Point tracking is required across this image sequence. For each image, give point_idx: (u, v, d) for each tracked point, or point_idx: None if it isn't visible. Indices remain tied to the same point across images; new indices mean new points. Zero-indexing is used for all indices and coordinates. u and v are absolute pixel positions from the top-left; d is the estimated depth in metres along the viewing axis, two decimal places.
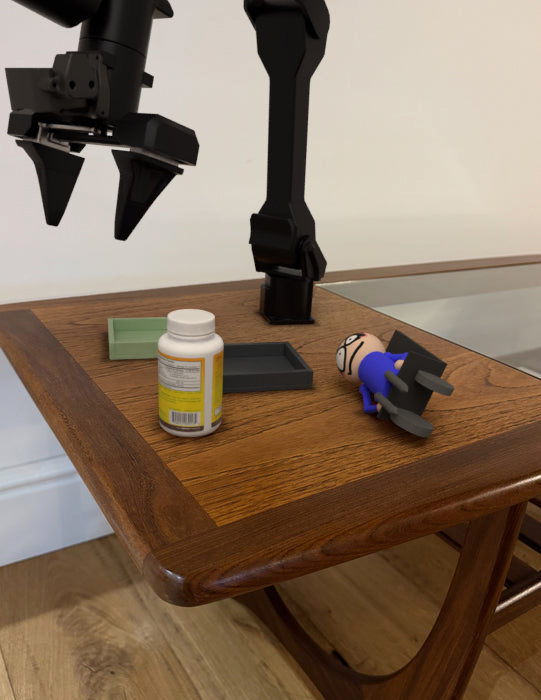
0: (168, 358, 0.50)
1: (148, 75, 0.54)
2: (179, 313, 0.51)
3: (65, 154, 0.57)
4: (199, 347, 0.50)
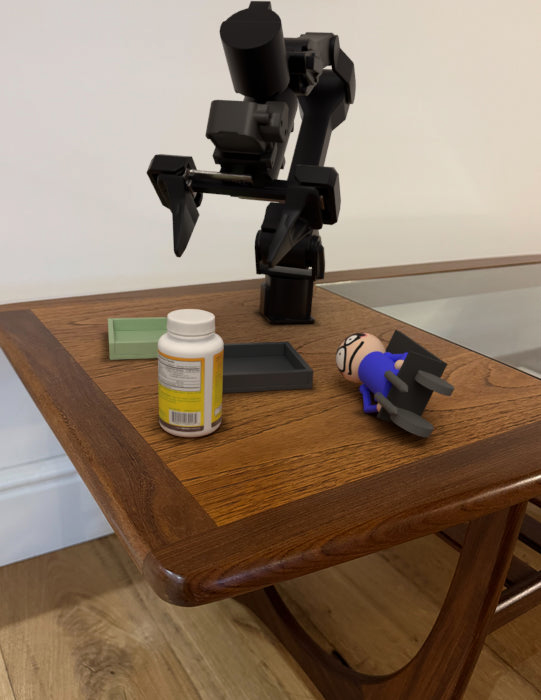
0: (168, 358, 0.50)
1: (284, 158, 0.64)
2: (179, 313, 0.51)
3: (193, 202, 0.62)
4: (199, 347, 0.50)
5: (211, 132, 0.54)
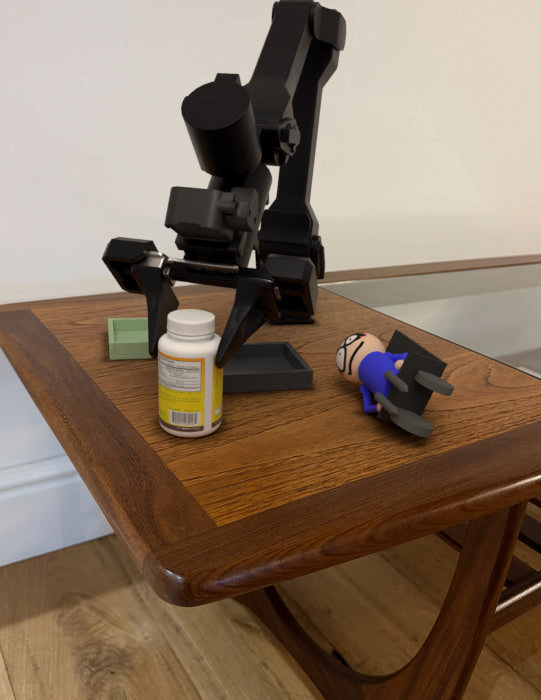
0: (168, 358, 0.50)
1: (257, 238, 0.58)
2: (179, 313, 0.51)
3: (172, 292, 0.55)
4: (199, 347, 0.50)
5: (170, 223, 0.48)
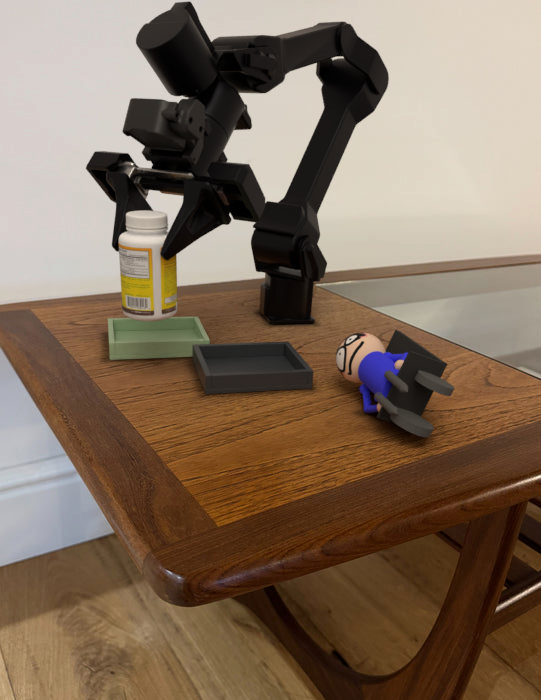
0: (123, 248, 0.59)
1: (225, 156, 0.65)
2: (138, 212, 0.60)
3: (143, 199, 0.64)
4: (147, 239, 0.58)
5: (125, 129, 0.57)
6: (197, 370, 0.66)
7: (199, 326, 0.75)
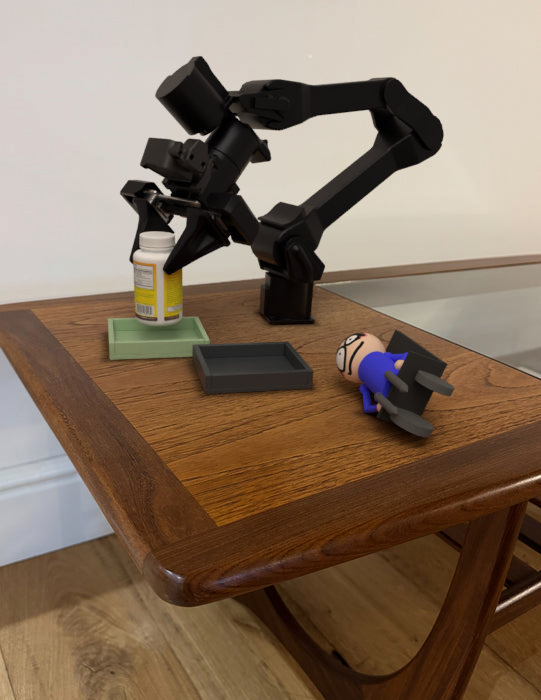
0: (134, 262, 0.69)
1: (237, 186, 0.74)
2: (151, 233, 0.70)
3: (163, 221, 0.74)
4: (152, 255, 0.68)
5: (141, 163, 0.67)
6: (197, 370, 0.66)
7: (199, 326, 0.75)
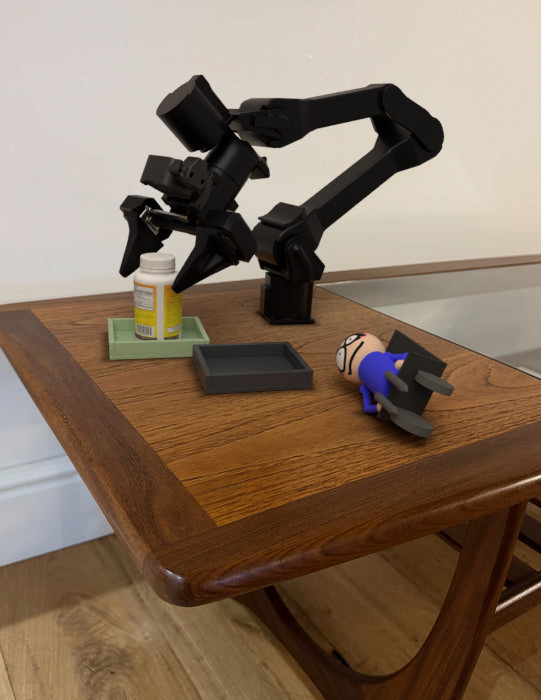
0: (135, 283, 0.70)
1: (235, 203, 0.74)
2: (151, 254, 0.71)
3: (153, 234, 0.76)
4: (153, 277, 0.69)
5: (141, 180, 0.68)
6: (197, 370, 0.66)
7: (199, 326, 0.75)
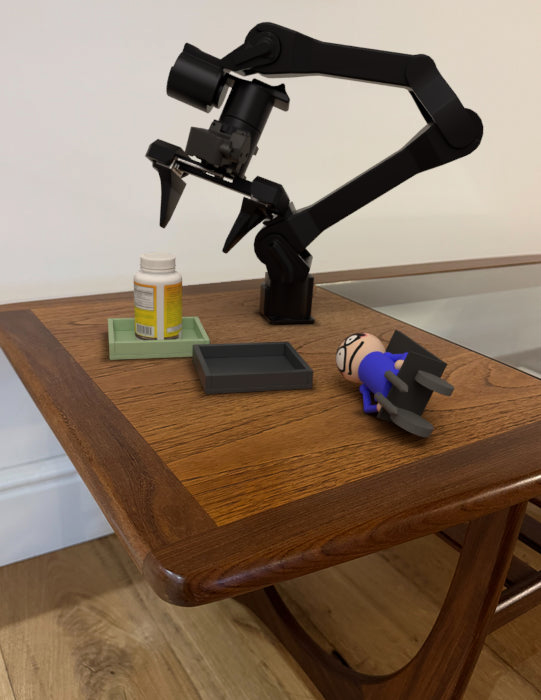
0: (135, 283, 0.70)
1: (257, 147, 0.80)
2: (151, 254, 0.71)
3: (180, 180, 0.81)
4: (153, 277, 0.69)
5: (188, 154, 0.72)
6: (197, 370, 0.66)
7: (199, 326, 0.75)
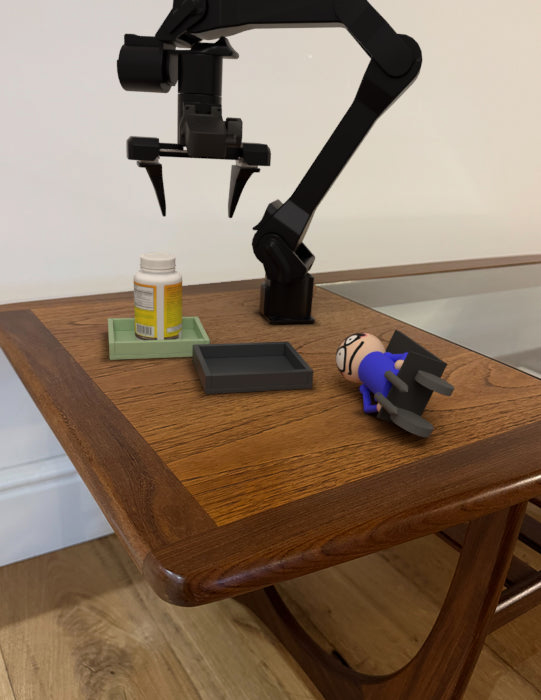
0: (135, 283, 0.70)
1: None
2: (152, 254, 0.71)
3: None
4: (153, 277, 0.69)
5: (195, 156, 0.75)
6: (197, 370, 0.66)
7: (199, 326, 0.75)
